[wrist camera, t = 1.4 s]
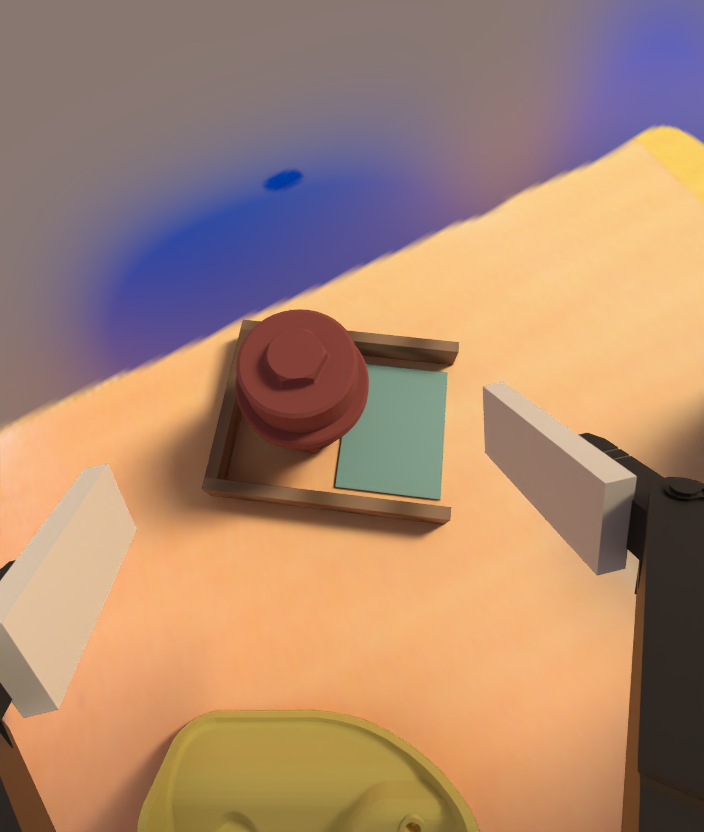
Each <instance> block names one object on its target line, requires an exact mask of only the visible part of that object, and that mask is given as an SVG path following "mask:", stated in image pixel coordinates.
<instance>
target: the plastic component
mask: <svg viewBox="0 0 704 832" xmlns="http://www.w3.org/2000/svg"><path fill="white" fill-rule="evenodd" d="M137 832H479V829H478V826H477V823H476V820H475V817H474V815H473V813H472V811H471V810H470V808H469V806H468V805H467V803H466V802H465V800H464V799H463V797H462V796H461V795H460V793H459V792H458V790H457V789H456V788H455V786H454V785H453V784H452V783H451V782H450V781H449V779H448V778H447V777H446V776H445V775H444V774H443V772H442V771H441V770H440V769H438V768H437V767H436V766H435V765H434V764H433V763H432V762H431V761H430V760H429V759H428V758H427V757H425V756H424V755H423V754H422V753H421V752H419V751H418V750H417V749H416V748H414V747H413V746H411V745H410V744H409V743H407V742H406V741H404V740H403V739H401V738H400V737H398V736H396V735H395V734H393V733H391V732H389V731H388V730H386V729H384V728H382V727H379V726H377V725H375V724H373V723H370V722H368V721H366V720H363V719H359V718H356V717H353V716H349V715H346V714H340V713H335V712H328V711H320V710H245V711H213V712H209V713H206V714H203V715H201V716H199V717H197V718H195V719H194V720H192V721H191V722H189V723H188V724H187V725H186V726H185V727H184V728H183V729H182V730H180V731H179V733H178V734H177V735H176V737H175V738H174V739H173V741H172V743H171V745H170V748H169V750H168V752H167V754H166V756H165V758H164V760H163V763H162V765H161V767H160V769H159V771H158V773H157V775H156V778H155V780H154V782H153V784H152V786H151V788H150V791H149V793H148V795H147V797H146V799H145V801H144V803H143V806H142V809H141V812H140V815H139V819H138V824H137Z"/></svg>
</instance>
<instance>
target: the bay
mask: <svg viewBox="0 0 704 832" xmlns="http://www.w3.org/2000/svg"><path fill="white" fill-rule="evenodd" d="M259 323H260V321H250V320H243V321H242V325H241V329H240V333H239V338H238V342H237V346H236V350H235V354H234V358H233V362H232V367H231V371H230V375H229V379H228V383H227V387H226V391H225V395H224V400H223V404H222V408H221V412H220V416H219V420H218V424H217V429H216V433H215V437H214V441H213V445H212V449H211V453H210V458H209V462H208V466H207V470H206V474H205V478H204V482H203V486H202V490H204V491H205V492H207V493H208V494H210V495H213V496H222V497H230V498H238V499H246V500H254V501H262V502H270V503H278V504H286V505H294V506H302V507H310V508H318V509H326V510H334V511H342V512H350V513H358V514H366V515H374V516H382V517H390V518H398V519H406V520H414V521H422V522H430V523H438V524H446V523H447V522H448V521H450V517H451V507H444V506H436V505H428V504H419V503H411V502H403V501H395V500H387V499H379V498H370V497H362V496H354V495H346V494H338V493H330V492H322V491H313V490H305V489H297V488H289V487H281V486H273V485H264V484H256V483H248V482H240V481H232V480H226V478H227V474H228V469H229V465H230V460H231V456H232V451H233V447H234V443H235V438H236V434H237V429H238V425H239V420H240V416H241V410H240V408H239V405H238V402H237V399H236V391H235V382H236V376H237V372H236V361H237V355H238V352H239V349H240V346H241V344H242V342H243V341H244V339H245V337H246V336H247V335H248V333H249V332H250V331H251V330H252V329H253V328H254V327H255V326H256V325H257V324H259ZM348 333H349V334H350V336H351V337H352V339H353V341H354V344H355V346H356V347H357V348H358V350H359V351H360V353H361V354H362V355H366V356H376V357H385V358H394V359H404V360H413V361H422V362H432V363H441V364H450V365H453V363H454V361H455V359H456V356H457V354H458V349H459V342H450V341H441V340H431V339H422V338H412V337H403V336H393V335H384V334H374V333H365V332H355V331H348ZM366 366H367V370H368V376H369V390H368V398H367V403H366V406H365V409H364V411H363V413H362V415H361V417H360V419H359V420H358V421H357V423H356V424H355V425H354V427H353V428H352V429H351V430H350V431H349V432H348V433H346V434H345V435H344V436H342V441H341V448H340V456H339V463H338V470H337V477H336V485H335V487H339V488H347V489H355V490H363V491H372V492H380V493H388V494H396V495H404V496H413V497H421V498H429V499H437V500H440V496H441V478H442V460H443V442H444V425H445V407H446V389H447V373H446V372H436V371H427V370H418V369H409V368H399V367H390V366H381V365H372V364H366Z"/></svg>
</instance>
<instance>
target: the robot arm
mask: <svg viewBox="0 0 704 832" xmlns="http://www.w3.org/2000/svg"><path fill="white" fill-rule="evenodd" d="M483 406H484V435H485V453H486V454H487V455H488V456H489V457H490V459H491V460H492V461H493V462H494V463H495V464H496V465H497V466H498V467H499V468H500V470H501V471H502V472H503V473H504V474H505V475H506V476H507V477H508V478H509V479H510V481H511V482H512V483H513V484H514V485H515V486H516V487H517V488H518V489H519V490H520V492H521V493H522V494H523V495H524V496H525V497H526V498H527V499H528V500H529V501H530V503H531V504H532V505H533V506H534V507H535V508H536V509H537V510H538V511H539V512H540V513H541V515H542V516H543V517H544V518H545V519H546V520H547V521H548V522H549V523H550V524H551V526H552V527H553V528H554V529H555V530H556V531H557V532H558V533H559V534H560V535H561V537H562V538H563V539H564V540H565V541H566V542H567V543H568V544H569V545H570V546H571V548H572V549H573V550H574V551H575V552H576V553H577V554H578V555H579V556H580V557H581V558H582V560H583V561H584V562H585V563H586V564H587V565H588V566H589V567H590V568H591V569H592V571H593V572H594V573H595V574H596V575H601V574H605V573H609V572H613V571H617V570H621V569H625V566H626V558H627V550H629V551H630V552H631V553H632V554H634V555H635V556H636V557H637V558H638V559H639V567H638V574H637V581H636V588H635V594H636V609H635V625H634V641H633V656H632V672H631V688H630V703H629V719H628V735H627V750H626V766H625V781H624V797H623V813H622V828H621V832H704V484H703V483H700V482H698V481H695V480H691V479H686V478H680V477H667V478H664V477H662V476H661V475H659V474H657V473H656V472H654V471H653V470H651V469H650V468H648V467H647V466H645V465H644V464H642V463H641V462H639V461H638V460H636V459H635V458H633V457H632V456H630V457H629V454H627V453H626V452H624V451H623V450H621V449H618V447H617V446H615V445H614V444H612V443H611V442H609V441H608V440H606V439H604V438H601V437H598V436H595V435H592V434H590V433H584V434H580V435H578V434H576V433H575V432H573V431H572V430H571V429H569V428H568V427H566V426H565V425H564V424H562V423H561V422H559V421H558V420H556V419H555V418H554V417H552V416H551V415H549V414H548V413H547V412H545V411H544V410H542V409H541V408H539V407H538V406H537V405H535V404H534V403H532V402H531V401H530V400H528V399H527V398H525V397H524V396H522V395H521V394H520V393H518V392H517V391H515V390H514V389H513V388H511V387H510V386H508V385H507V384H505V383H504V382H500V383H495V384H490V385H485V386H483ZM136 530H137V529H136V527H135V524H134V522H133V520H132V517H131V515H130V513H129V511H128V508H127V506H126V504H125V501H124V499H123V497H122V494H121V492H120V490H119V488H118V485H117V483H116V481H115V478H114V476H113V474H112V471H111V469H110V467H109V465H108V464H104V465H99V466H94V467H89V468H85V469H84V470H83V471H82V473H81V474H80V475H79V477H78V478H77V479H76V481H75V482H74V483H73V485H72V486H71V487H70V489H69V490H68V491H67V493H66V494H65V495H64V497H63V498H62V499H61V501H60V502H59V503H58V505H57V506H56V507H55V509H54V510H53V511H52V513H51V514H50V515H49V517H48V518H47V519H46V521H45V522H44V523H43V525H42V526H41V527H40V529H39V530H38V531H37V533H36V534H35V535H34V537H33V538H32V539H31V541H30V542H29V543H28V545H27V546H26V547H25V549H24V550H23V551H22V553H21V554H20V555H19V557H18V558H17V559H16V560H14V561H10V562H8V563H7V564H6V565H5V566H4V567H2V568H1V569H0V832H56V830H55V828H54V826H53V824H52V822H51V819H50V817H49V815H48V813H47V811H46V808H45V806H44V804H43V802H42V800H41V797H40V795H39V793H38V791H37V789H36V786H35V784H34V782H33V780H32V778H31V775H30V773H29V771H28V769H27V767H26V764H25V762H24V760H23V758H22V756H21V753H20V751H19V749H18V747H17V745H16V743H15V740H14V738H13V736H12V734H11V732H10V729H9V728H8V726H7V725H6V724H5V722H4V721H3V720H2V718H3V716H4V714H5V712H6V710H7V709H8V707H9V705H10V703H11V701H12V703H13V704H14V706H15V707H16V708H17V710H18V711H19V713H20V714H21V715H22V717H23V718H26V717H30V716H34V715H38V714H42V713H46V712H50V711H54V710H58V709H59V707H60V705H61V702H62V700H63V698H64V696H65V693H66V691H67V689H68V686H69V684H70V682H71V679H72V677H73V675H74V673H75V670H76V668H77V666H78V663H79V661H80V659H81V656H82V654H83V652H84V650H85V647H86V645H87V643H88V640H89V638H90V636H91V633H92V631H93V629H94V627H95V624H96V622H97V620H98V617H99V615H100V613H101V610H102V608H103V606H104V604H105V601H106V599H107V597H108V594H109V592H110V590H111V587H112V585H113V583H114V580H115V578H116V576H117V574H118V571H119V569H120V567H121V564H122V562H123V560H124V557H125V555H126V553H127V551H128V548H129V546H130V544H131V541H132V539H133V537H134V534H135V532H136Z"/></svg>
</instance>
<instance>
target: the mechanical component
mask: <svg viewBox="0 0 704 832" xmlns="http://www.w3.org/2000/svg"><path fill="white" fill-rule="evenodd" d="M236 372H237V376H236V382H235V391H236V399H237V402H238V405H239V408H240V410H241V412H242V414H243V416H244V417H245V419H246V420H247V422H248V424H249V425H250V426H251V427H252V429H253V430H254V431H255V432H256V433H257V434H259V435H260V436H261V437H262V438H264V439H265V440H267V441H268V442H271V443H273V444H275V445H277V446H280V447H284V448H288V449H295V450H306V451H307V452H309V453H315V452H317V451H319V450H320V448H323V447H326V446H328V445H330V444H332V443H333V442H334V441H336V440H338V439H340V438H341V437H342V436H344V435H345V434H346V433H348V432H349V431H350V430H351V429H352V428H353V427H354V425H355V424H356V423H357V421H358V420H359V419H360V417H361V415H362V413H363V411H364V409H365V406H366V403H367V398H368V390H369V376H368V370H367V366H366V363H365V361H364V358H363V356H362V354H361V353H360V351H359V350H358V348H357V347H356V346H355V344H354V341H353V339H352V337H351V336H350V334H349V333H348V331H347V330H346V329H345V328H344V327H343V326H342V325H341V324H340V323H338V322H337V321H336V320H334V319H333V318H331V317H329V316H327V315H325V314H322V313H319V312H316V311H311V310H289V311H284V312H280V313H277V314H274V315H272V316H270V317H268V318H266V319H264V320H263V321H261V322H260V323H259V324H257V325H256V326H255V327H254V328H253V329H252V330H251V331H250V332H249V333H248V335H247V336H246V337H245V339H244V341H243V342H242V344H241V346H240V349H239V352H238V355H237V361H236Z"/></svg>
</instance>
